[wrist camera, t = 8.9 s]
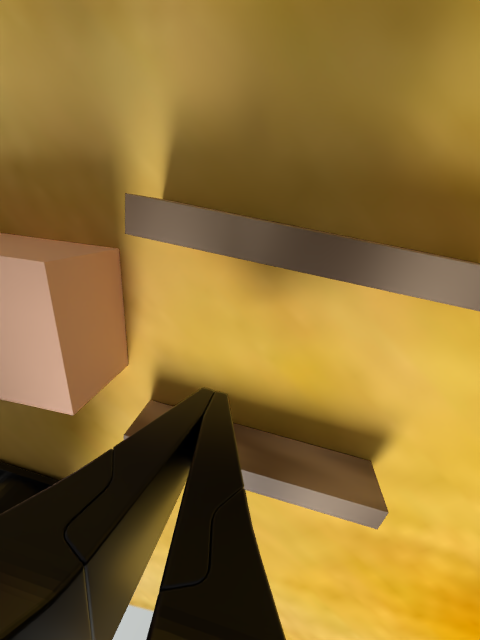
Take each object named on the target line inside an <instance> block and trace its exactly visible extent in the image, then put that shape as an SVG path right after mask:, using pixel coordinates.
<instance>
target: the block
mask: <svg viewBox="0 0 480 640" xmlns="http://www.w3.org/2000/svg"><path fill="white" fill-rule="evenodd" d="M126 366H128V355H127V342H126V330H125V317H124V304H123V291H122V279H121V266H120V253H119V249H118V248H111V247H103V246H96V245H88V244H81V243H73V242H66V241H58V240H50V239H43V238H35V237H28V236H20V235H13V234H5V233H0V399H1V400H6V401H10V402H15V403H19V404H24V405H28V406H33V407H38V408H42V409H47V410H51V411H56V412H60V413H65V414H69V415H74V414H76V413H77V412H78V411H79V410H80V409H81V408H82V407H83V406H84V405H85V404H86V403H87V402H89V401H90V400H91V399H92V398H93V397H94V396H95V395H96V394H97V393H98V392H99V391H100V390H102V389H103V388H104V387H105V386H106V385H107V384H108V383H109V382H110V381H111V380H112V379H113V378H115V377H116V376H117V375H118V374H119V373H120V372H121V371H122V370H123V369H124V368H125V367H126Z"/></svg>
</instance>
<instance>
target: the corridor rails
mask: <svg viewBox="0 0 480 640" xmlns="http://www.w3.org/2000/svg"><path fill="white" fill-rule="evenodd" d="M125 234H129V235H133V236H138V237H142V238H147V239H151V240H156V241H161V242H165V243H170V244H174V245H179V246H183V247H188V248H193V249H197V250H202V251H206V252H211V253H215V254H220V255H225V256H229V257H234V258H238V259H243V260H247V261H252V262H257V263H261V264H266V265H270V266H275V267H280V268H284V269H289V270H293V271H298V272H302V273H307V274H312V275H316V276H321V277H325V278H330V279H334V280H339V281H344V282H348V283H353V284H357V285H362V286H366V287H371V288H376V289H380V290H385V291H389V292H394V293H398V294H403V295H408V296H412V297H417V298H421V299H426V300H430V301H435V302H440V303H444V304H449V305H453V306H458V307H462V308H467V309H472V310H476V311H480V264H479V263H474V262H470V261H465V260H460V259H455V258H450V257H445V256H440V255H435V254H430V253H425V252H420V251H415V250H410V249H406V248H401V247H396V246H391V245H386V244H381V243H376V242H371V241H366V240H361V239H356V238H351V237H346V236H341V235H337V234H332V233H327V232H322V231H317V230H312V229H307V228H302V227H297V226H292V225H287V224H282V223H277V222H273V221H268V220H263V219H258V218H253V217H248V216H243V215H238V214H233V213H228V212H223V211H218V210H213V209H209V208H204V207H199V206H194V205H189V204H184V203H179V202H174V201H169V200H164V199H158V198H152V197H146V196H139V195H133V194H126V193H125ZM173 407H174V406H170V405H166V404H163V403H159V402H156V401H152V400H150V401H149V402H148V404H147V405H146V406H145V408H144V409H143V410H142V412H141V413H140V414H139V416H138V417H137V418H136V420H135V421H134V422H133V424H132V425H131V426H130V427H129V429H128V430H127V431H126V433H125V434H124V440H125V439H126V438H128V437H129V436H131V435H132V434H134V433H135V432H137V431H138V430H140V429H141V428H143V427H144V426H146V425H147V424H149V423H150V422H152V421H153V420H155V419H156V418H158V417H159V416H161V415H162V414H164V413H165V412H167V411H168V410H170V409H171V408H173ZM233 427H234V432H235V438H236V443H237V449H238V454H239V460H240V465H241V471H242V476H243V482H244V489H245V490H248V491H251V492H254V493H258V494H261V495H264V496H268V497H271V498H274V499H278V500H281V501H284V502H288V503H291V504H294V505H298V506H301V507H304V508H308V509H311V510H314V511H318V512H321V513H324V514H328V515H331V516H334V517H338V518H341V519H344V520H348V521H351V522H354V523H358V524H361V525H364V526H368V527H371V528H374V529H378V528H379V526H380V525H381V523H382V522H383V520H384V519H385V517H386V516H387V514H388V510H387V507H386V504H385V501H384V498H383V495H382V492H381V489H380V486H379V484H378V481H377V478H376V475H375V472H374V469H373V466H372V463H371V461H368V460H365V459H361V458H357V457H354V456H350V455H347V454H343V453H339V452H336V451H332V450H329V449H325V448H321V447H318V446H314V445H311V444H307V443H303V442H300V441H296V440H293V439H289V438H285V437H282V436H278V435H274V434H271V433H267V432H264V431H260V430H256V429H253V428H249V427H246V426H242V425H238V424H235V423H233Z"/></svg>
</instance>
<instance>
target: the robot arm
mask: <svg viewBox="0 0 480 640" xmlns="http://www.w3.org/2000/svg"><path fill="white" fill-rule="evenodd" d="M186 480H187V481H186ZM185 482H186V485H185V489H184V493H183V497H182V501H181V505H180V509H179V513H178V517H177V521H176V525H175V529H174V533H173V537H172V541H171V545H170V549H169V553H168V557H167V561H166V565H165V569H164V573H163V577H162V581H161V585H160V590H159V595H158V597H157V601H156V605H155V609H154V613H153V617H152V621H151V624H150V628H149V632H148V636H147V639H146V640H286V638H285V635H284V632H283V629H282V626H281V622H280V619H279V616H278V612H277V609H276V606H275V602H274V599H273V596H272V592H271V589H270V586H269V583H268V579H267V576H266V573H265V569H264V566H263V563H262V559H261V556H260V552H259V549H258V545H257V541H256V538H255V534H254V530H253V527H252V522H251V517H250V513H249V508H248V503H247V498H246V492H245V489H244V482H243V476H242V471H241V465H240V460H239V454H238V449H237V443H236V438H235V432H234V427H233V421H232V415H231V410H230V404H229V399H228V395H227V394H226V393H223V392H219V391H216V392H214V390H211V389H208V388H201V389H199V390H198V391H196V392H195V393H193V394H192V395H190V396H189V397H188V398H186V399H185V400H183V401H182V402H180V403H179V404H177V405H176V406H174V407H173V408H171V409H170V410H168V411H167V412H165V413H164V414H162V415H161V416H159V417H158V418H156V419H155V420H153V421H152V422H150V423H149V424H147V425H146V426H144V427H143V428H141V429H140V430H138V431H137V432H135V433H134V434H132V435H131V436H129V437H128V438H126V439H125V440H123V441H122V442H120V443H119V444H117V445H116V446H114V448H113V449H110V450H108V451H107V452H105V453H104V454H102V455H101V456H99V457H98V458H96V459H95V460H93V461H92V462H90V463H88V464H87V465H85V466H84V467H82V468H81V469H79V470H77V471H76V472H74V473H72V474H71V475H69V476H67V477H66V478H64V479H62V480H60V481H58V480H55V479H52V478H49V477H46V476H42V475H39V474H36V473H33V472H30V471H27V470H24V469H20V468H17V467H14V466H11V465H8V464H5V463H2V462H0V640H112V639H113V637H114V635H115V632H116V630H117V628H118V626H119V624H120V622H121V619H122V617H123V615H124V613H125V611H126V609H127V607H128V605H129V603H130V600H131V598H132V596H133V594H134V592H135V590H136V588H137V585H138V583H139V581H140V579H141V577H142V575H143V572H144V570H145V568H146V566H147V564H148V562H149V560H150V557H151V555H152V553H153V551H154V549H155V547H156V545H157V542H158V540H159V538H160V536H161V534H162V532H163V530H164V527H165V525H166V523H167V521H168V519H169V517H170V514H171V512H172V510H173V508H174V506H175V504H176V502H177V499H178V497H179V495H180V493H181V491H182V489H183V487H184V484H185Z"/></svg>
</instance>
